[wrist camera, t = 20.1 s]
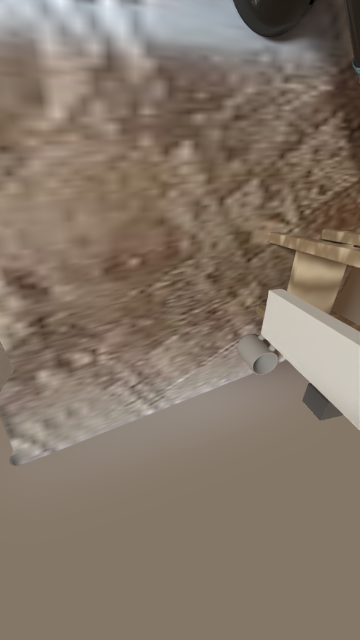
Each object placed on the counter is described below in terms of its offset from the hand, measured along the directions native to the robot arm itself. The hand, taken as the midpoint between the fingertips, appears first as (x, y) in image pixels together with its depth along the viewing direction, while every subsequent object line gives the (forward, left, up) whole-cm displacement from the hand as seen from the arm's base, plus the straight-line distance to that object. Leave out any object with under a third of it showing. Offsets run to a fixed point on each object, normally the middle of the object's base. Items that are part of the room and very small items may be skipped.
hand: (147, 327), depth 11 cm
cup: (+30, +30, -37) cm, 56 cm away
